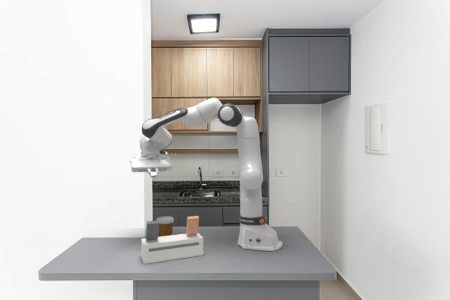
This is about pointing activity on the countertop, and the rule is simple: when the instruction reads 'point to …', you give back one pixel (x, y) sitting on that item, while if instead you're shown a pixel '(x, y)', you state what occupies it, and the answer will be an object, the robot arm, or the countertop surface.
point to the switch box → (171, 248)
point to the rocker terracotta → (192, 225)
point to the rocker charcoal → (152, 230)
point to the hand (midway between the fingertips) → (153, 176)
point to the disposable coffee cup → (165, 225)
